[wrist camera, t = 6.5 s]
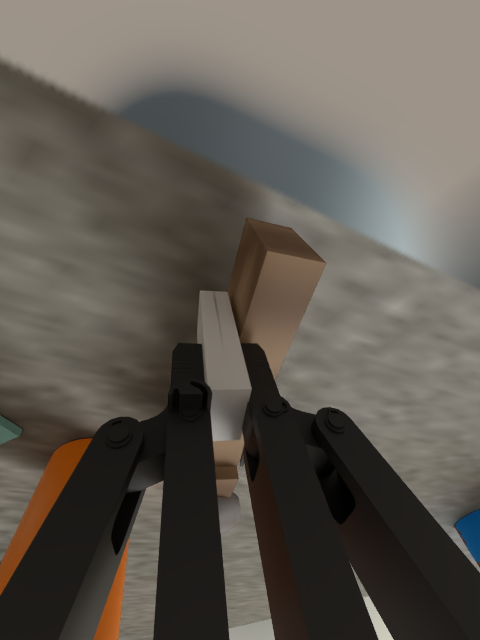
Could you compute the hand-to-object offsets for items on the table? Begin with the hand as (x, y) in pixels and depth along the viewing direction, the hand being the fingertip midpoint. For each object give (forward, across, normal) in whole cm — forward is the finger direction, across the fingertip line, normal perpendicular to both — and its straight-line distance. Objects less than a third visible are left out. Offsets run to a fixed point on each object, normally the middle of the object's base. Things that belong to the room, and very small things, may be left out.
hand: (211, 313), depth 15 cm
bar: (+1, +1, -6) cm, 6 cm away
